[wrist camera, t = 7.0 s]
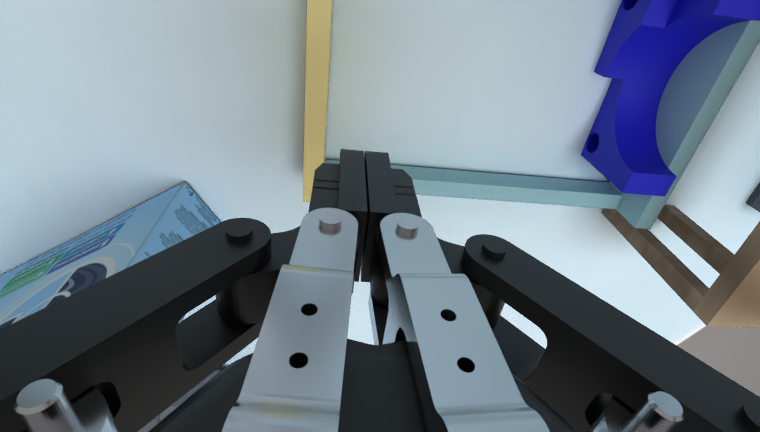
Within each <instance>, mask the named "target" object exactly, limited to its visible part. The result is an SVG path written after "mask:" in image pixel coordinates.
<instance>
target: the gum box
mask: <svg viewBox="0 0 760 432" xmlns="http://www.w3.org/2000/svg"><path fill="white" fill-rule="evenodd" d="M218 223H220V221H219V220H218V219H217V218H216V216H215V215H214V214H213V213H212V212H211V211H210V209H209V208H208V207H207V206H206V205H205V204H204V203H203V201H202V200H201V199H200V198H199V197H198V196H197V195H196V194H195V192H194V191H193V190H192V189H191V188H190V187H189V185H188V184H187V183H185V182H183V183H181V184H180V185H178V186H175V187H173V188H171V189H169V190H167V191H165V192H164V193H162V194H160V195H158V196H156V197H154V198H152V199H149V200H147V201H146V202H144V203H142V204H140V205H138V206H136V207H134V208H132V209H130V210H128V211H126V212H124V213H122V214H120V215H118V216H117V217H115V218H113V219H111V220H109V221H107V222H105V223H103V224H101V225H99V226H98V227H96V228H94V229H92V230H90V231H88V232H86V233H84V234H82V235H80V236H78V237H76V238H74V239H72V240H70V241H68V242H66V243H64V244H62V245H60V246H58V247H56V248H54V249H52V250H50V251H48V252H46V253H44V254H42V255H40V256H38V257H36V258H34V259H32V260H30V261H28V262H26V263H24V264H23V265H21V266H19V267H17V268H15V269H12V270H10V271H8V272H6V273H4V274H2V275H0V329H2V328H4V327H6V326H8V325H11V324H13V323H15V322H17V321H19V320H21V319H23V318H25V317H27V316H29V315H31V314H33V313H35V312H37V311H39V310H41V309H43V308H46V307H48V306H50V305H52V304H54V303H56V302H58V301H60V300H62V299H64V298H66V297H68V296H70V295H72V294H74V293H76V292H78V291H80V290H83V289H85V288H87V287H89V286H91V285H93V284H95V283H97V282H99V281H101V280H103V279H105V278H107V277H109V276H111V275H113V274H115V273H117V272H120V271H122V270H124V269H126V268H128V267H130V266H132V265H134V264H136V263H138V262H140V261H142V260H144V259H146V258H148V257H150V256H152V255H155V254H157V253H159V252H161V251H163V250H165V249H167V248H169V247H171V246H173V245H175V244H177V243H179V242H181V241H183V240H185V239H187V238H189V237H192V236H194V235H196V234H198V233H200V232H202V231H204V230H206V229H208V228H210V227H212V226H214V225H216V224H218ZM184 316H185V315H184ZM184 316H183V317H182V319H181V320H180V321H179V323H180V322H181V321H183V318H184Z"/></svg>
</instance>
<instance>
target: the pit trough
mask: <svg viewBox="0 0 760 432" xmlns="http://www.w3.org/2000/svg"><path fill="white" fill-rule="evenodd" d="M746 203H747V204H748V205H750V206H751V207H753V208H754V209H756V210H757V211H759V212H760V184H759V185H758V186H757V188H756V189H755V191H754V192H753V194H752V195H751V196H750V198H749V199H748V201H747V202H746Z"/></svg>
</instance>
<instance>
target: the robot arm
mask: <svg viewBox="0 0 760 432" xmlns="http://www.w3.org/2000/svg"><path fill="white" fill-rule="evenodd" d="M360 267H361V282H370V287H371V289H370V295H369V302H368V304H369V312H370V318H371V325H372V331H373V338H374V345H370V344H366V343H362V342H358V341H354V340H350V339H347V333H348V324H349V314H350V304H351V295H352V293H353V287H354V281H357V282H359V275H360ZM214 295H216V300H214V301H213V302H211V303H209V304H208V305H206V306H205V307H203V308H202V309H200V310H199V311H197V312H195V313H194V314H192V315H191V316H189V317H188V318H186V319H184V320H183V321H181V322H180V323H179V321H180V320H181V319H182V317H183V316H184V315H185V314H186V313H188V312H189V311H191V310H192V309H194V308H195V307H197V306H199V305H200V304H202V303H203V302H205V301H206V300H208V299H210V298H211V297H213V296H214ZM505 303H506V304H508V305H509V306H511V307H512V308H513V309H515V310H516V311H518V312H519V313H520V314H522V315H523V316H524V317H526V318H527V319H529V320H530V321H531V322H533V323H534V324H535V325H537V326H538V327H539V328H540V329H541V330H542V331H543V332H544V334H545V336H546V338H547V347H546V349H545V348H543V347H542V346H540V345H539V344H538V343H536V342H535V341H534V340H532V339H531V338H530V337H528V336H527V335H526V334H524V333H523V332H522V331H520V330H519V329H518V328H516V327H515V326H514V325H512V324H511V323H510V322H508V321H507V320H506V319H504V318H503V317H502V316H500V314H501V311H502V309H503V306H504V304H505ZM256 338H258V340H257V343H256V347H255V350H254V353H252V354H250V355H247V356H245V357H243V358H241V359H239V360H237V361H235V362H233V363H232V364H230V365H229V366H227V367H226V368H224V369H223V370H221V371H220V372H219V373H217V374H216V375H215V376H214V377H213V378H211V379H210V380H209V381H208V382H207V383H205V384H204V385H203V386H202V387H201V388H200V389H198V390H197V391H196V392H195V393H194V394H192V395H191V396H190V397H189V398H188V399H186V400H185V401H184V402H183V403H182V404H181V405H179V406H178V407H177V408H176V409H175V410H173V411H172V412H171V413H170V414H169V415H167V416H166V417H165V418H164V419H163V420H162V421H160V422H159V423H158V424H157V425H156V426H154V427H153V428H152V429H151V430H150V431H148V432H760V397H759V396H757V395H755V394H754V393H752V392H751V391H749V390H747V389H746V388H744V387H742V386H741V385H739V384H738V383H736V382H734V381H733V380H731V379H730V378H728V377H726V376H725V375H723V374H722V373H720V372H718V371H717V370H715V369H713V368H712V367H710V366H709V365H707V364H705V363H704V362H702V361H700V360H699V359H697V358H695V357H694V356H692V355H691V354H689V353H688V352H686V351H684V350H683V349H681V348H679V347H678V346H676V345H675V344H673V343H671V342H670V341H668V340H667V339H665V338H663V337H662V336H660V335H658V334H657V333H655V332H654V331H652V330H650V329H649V328H647V327H646V326H644V325H642V324H641V323H639V322H637V321H636V320H634V319H633V318H631V317H629V316H628V315H626V314H625V313H623V312H621V311H620V310H618V309H616V308H615V307H613V306H612V305H610V304H608V303H607V302H605V301H604V300H602V299H600V298H599V297H597V296H595V295H594V294H592V293H591V292H589V291H587V290H586V289H584V288H583V287H581V286H579V285H578V284H576V283H574V282H573V281H571V280H570V279H568V278H566V277H565V276H563V275H562V274H560V273H558V272H557V271H555V270H553V269H552V268H550V267H549V266H547V265H545V264H544V263H542V262H541V261H539V260H537V259H536V258H534V257H532V256H531V255H529V254H528V253H526V252H524V251H523V250H521V249H519V248H518V247H516V246H515V245H513V244H511V243H510V242H508V241H506V240H504V239H502V238H500V237H497V236H493V235H485V234H481V235H475V236H472V237H470V238H469V239H468V240H467V241H466V244H465V247H464V246H460V245H456V244H453V243H449V242H446V241H443V240H441V239H439V238H437V237H436V234H435V232H434V229H433V227H432V226H431V224H430V223H429V222H428V221H426V220H425V219H423V218H422V216H421V212H420V208H419V205H418V201H417V197H416V193H415V189H414V185H413V181H412V178H411V177H410V176H409V175H408V174H407V173H406V172H405V171H404V170H403V169H393V168H391V166H390V161H389V155H388V153H382V152H371V151H365V154H364V151H358V150H347V149H341V152H340V164H332V163H322V164H321V165H320V166H319V167H318V168H317V169H316V170H315V173H314V181H313V186H312V193H311V200H310V207H309V213H307V214H306V215H305V216H304V218H303V220H302V223H301V226H299V227H297V228H295V229H293V230H290V231H286V232H280V233H273V234H271V232H270V229H269V228H268V226H267V225H265V224H264V223H262V222H260V221H258V220H255V219H250V218H234V219H229V220H226V221H223V222H220V223H218V224H216V225H214V226H212V227H210V228H208V229H206V230H204V231H202V232H200V233H198V234H196V235H194V236H192V237H189V238H187V239H185V240H183V241H181V242H179V243H177V244H175V245H173V246H171V247H169V248H167V249H165V250H163V251H161V252H159V253H157V254H155V255H152V256H150V257H148V258H146V259H144V260H142V261H140V262H138V263H136V264H134V265H132V266H130V267H128V268H126V269H124V270H122V271H120V272H117V273H115V274H113V275H111V276H109V277H107V278H105V279H103V280H101V281H99V282H97V283H95V284H93V285H91V286H89V287H87V288H85V289H83V290H80V291H78V292H76V293H74V294H72V295H70V296H68V297H66V298H64V299H62V300H60V301H58V302H56V303H54V304H52V305H50V306H48V307H46V308H43V309H41V310H39V311H37V312H35V313H33V314H31V315H29V316H27V317H25V318H23V319H21V320H19V321H17V322H15V323H13V324H11V325H8V326H6V327H4V328H2V329H0V432H138V431H139V430H140V429H142V428H143V427H144V426H145V425H147V424H148V423H149V422H151V421H152V420H153V419H154V418H156V417H157V416H158V415H159V414H161V413H162V412H163V411H165V410H166V409H167V408H168V407H170V406H171V405H172V404H173V403H175V402H176V401H177V400H179V399H180V398H181V397H182V396H184V395H185V394H186V393H187V392H189V391H190V390H191V389H193V388H194V387H195V386H196V385H198V384H199V383H200V382H202V381H203V380H204V379H205V378H207V377H208V376H209V375H210V374H212V373H213V372H214V371H216V370H217V369H218V368H219V367H221V366H222V365H223V364H224V363H226V362H227V361H228V360H230V359H231V358H232V357H233V356H235V355H236V354H237V353H238V352H240V351H241V350H242V349H244V348H245V347H246V346H247V345H249V344H250V343H251V342H252V341H254V340H255V339H256Z"/></svg>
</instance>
